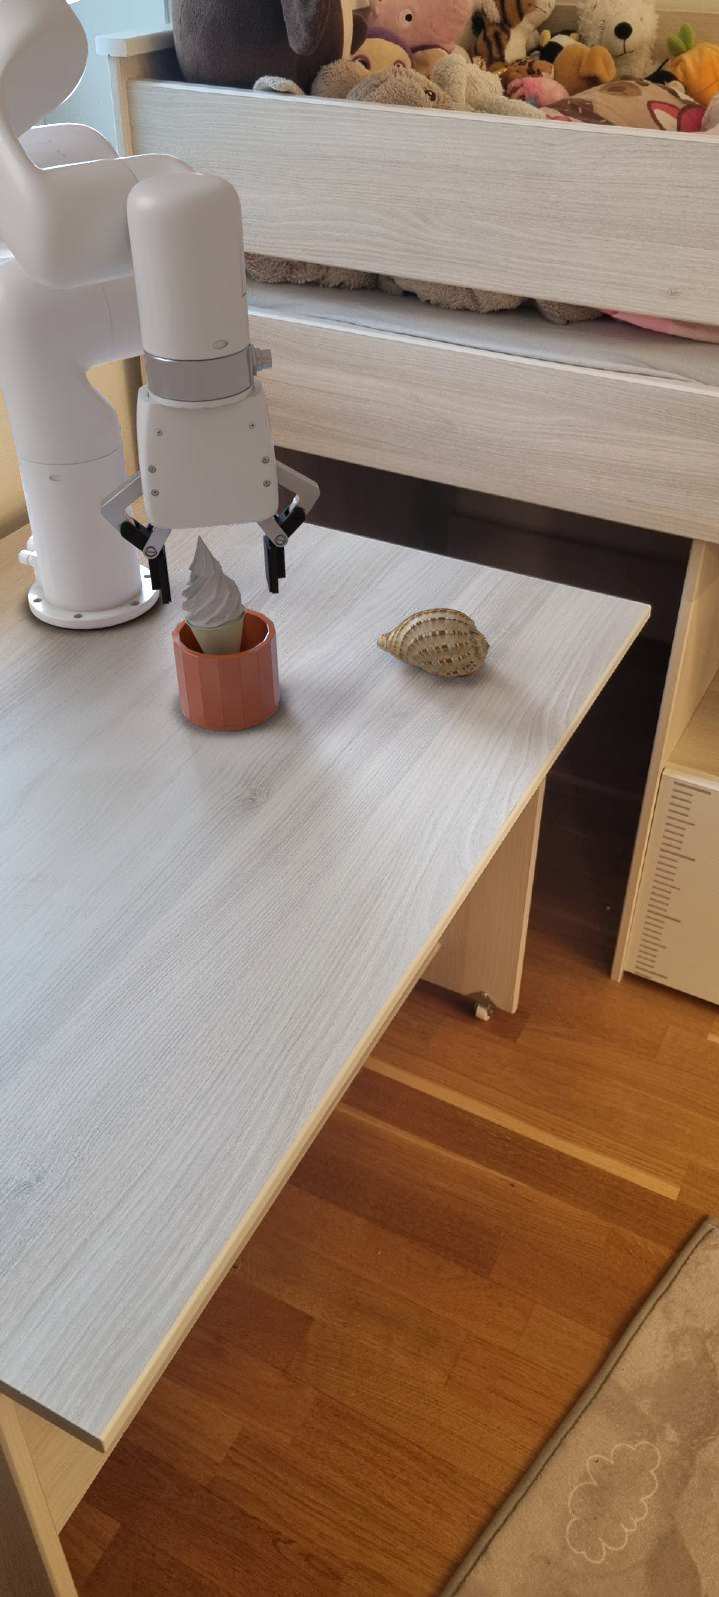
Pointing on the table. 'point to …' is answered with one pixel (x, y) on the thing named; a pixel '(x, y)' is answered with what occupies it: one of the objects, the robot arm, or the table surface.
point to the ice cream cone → (213, 605)
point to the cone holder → (229, 677)
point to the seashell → (438, 643)
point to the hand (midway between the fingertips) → (219, 589)
